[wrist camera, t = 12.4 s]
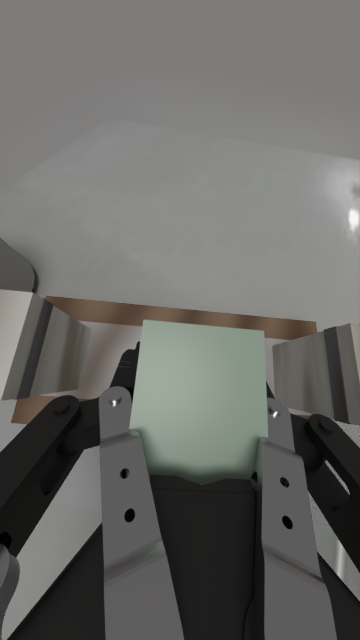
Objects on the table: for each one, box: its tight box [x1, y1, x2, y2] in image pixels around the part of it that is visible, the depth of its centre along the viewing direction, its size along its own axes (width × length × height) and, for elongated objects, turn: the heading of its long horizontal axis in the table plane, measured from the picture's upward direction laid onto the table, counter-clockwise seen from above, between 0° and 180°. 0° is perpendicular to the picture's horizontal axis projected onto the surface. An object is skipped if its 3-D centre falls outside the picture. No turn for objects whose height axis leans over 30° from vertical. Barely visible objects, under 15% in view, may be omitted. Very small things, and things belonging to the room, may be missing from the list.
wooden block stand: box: [0, 289, 360, 426], centre depth 16 cm, size 29×12×11 cm, turn 86°
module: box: [129, 320, 268, 487], centre depth 12 cm, size 5×6×9 cm
